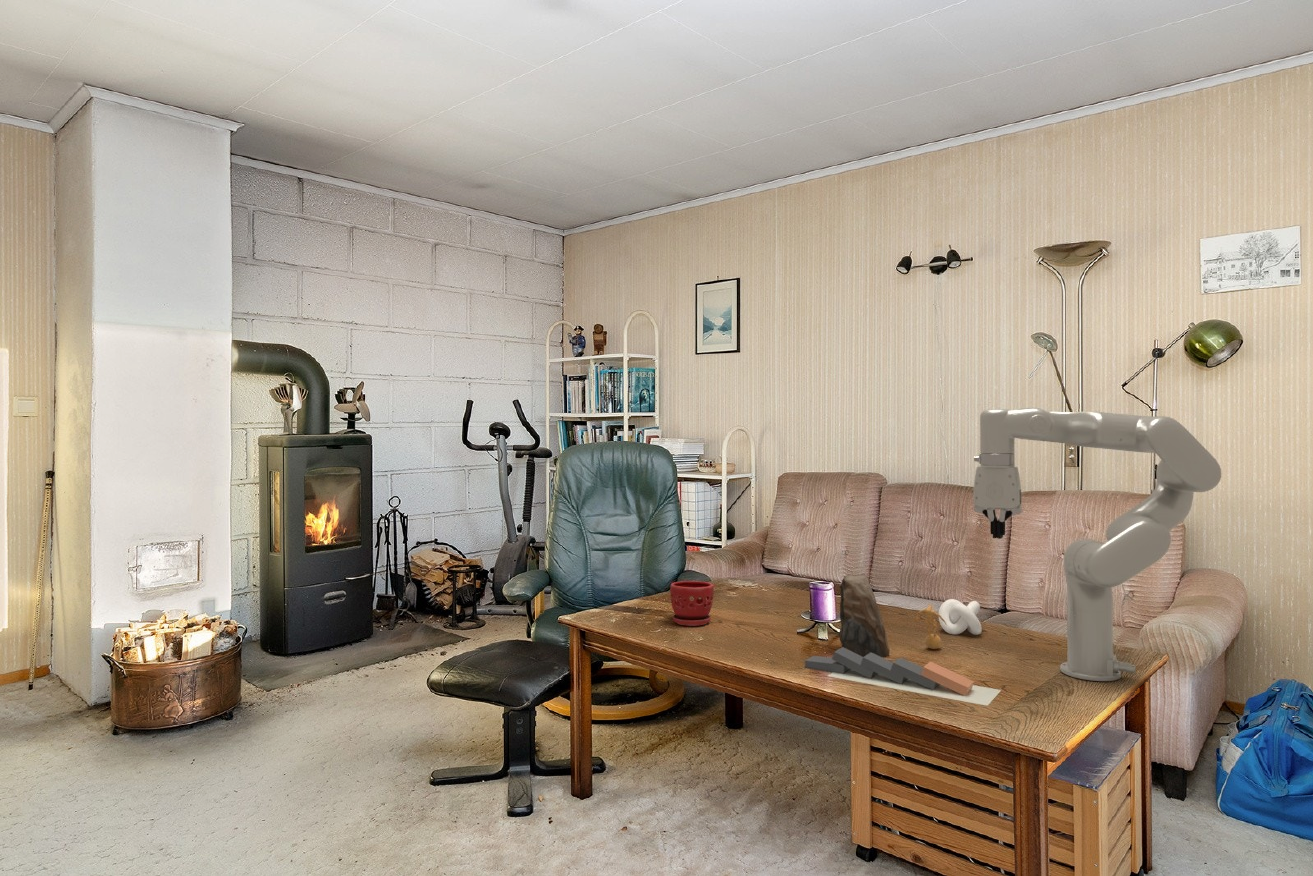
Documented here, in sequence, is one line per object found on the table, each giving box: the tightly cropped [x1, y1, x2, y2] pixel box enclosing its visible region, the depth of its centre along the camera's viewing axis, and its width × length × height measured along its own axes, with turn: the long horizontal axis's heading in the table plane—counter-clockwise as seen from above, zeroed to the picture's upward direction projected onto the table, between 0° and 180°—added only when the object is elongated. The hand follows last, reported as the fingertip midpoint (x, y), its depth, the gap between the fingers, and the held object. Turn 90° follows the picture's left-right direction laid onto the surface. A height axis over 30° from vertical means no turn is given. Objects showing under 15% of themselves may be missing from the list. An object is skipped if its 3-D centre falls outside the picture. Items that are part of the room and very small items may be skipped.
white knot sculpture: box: [937, 598, 983, 636], centre depth 228 cm, size 11×12×9 cm
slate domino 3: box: [861, 653, 908, 684], centre depth 187 cm, size 2×5×10 cm
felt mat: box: [827, 669, 1002, 707], centre depth 183 cm, size 36×12×1 cm, turn 54°
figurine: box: [915, 604, 947, 650], centre depth 211 cm, size 8×6×12 cm
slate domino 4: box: [891, 657, 940, 690], centre depth 182 cm, size 2×5×10 cm
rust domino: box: [921, 661, 975, 696], centre depth 178 cm, size 2×5×10 cm
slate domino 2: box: [831, 646, 878, 679], centre depth 191 cm, size 2×5×10 cm
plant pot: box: [669, 580, 715, 627], centre depth 244 cm, size 13×13×12 cm
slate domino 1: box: [804, 655, 850, 674], centre depth 195 cm, size 2×5×10 cm
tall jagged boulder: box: [838, 572, 891, 658], centre depth 209 cm, size 13×13×20 cm
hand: (997, 537), depth 191 cm, fingers closed
